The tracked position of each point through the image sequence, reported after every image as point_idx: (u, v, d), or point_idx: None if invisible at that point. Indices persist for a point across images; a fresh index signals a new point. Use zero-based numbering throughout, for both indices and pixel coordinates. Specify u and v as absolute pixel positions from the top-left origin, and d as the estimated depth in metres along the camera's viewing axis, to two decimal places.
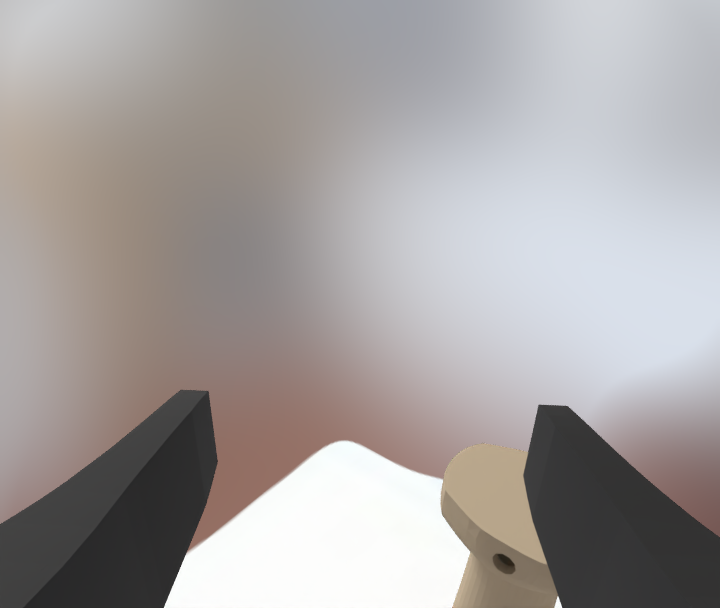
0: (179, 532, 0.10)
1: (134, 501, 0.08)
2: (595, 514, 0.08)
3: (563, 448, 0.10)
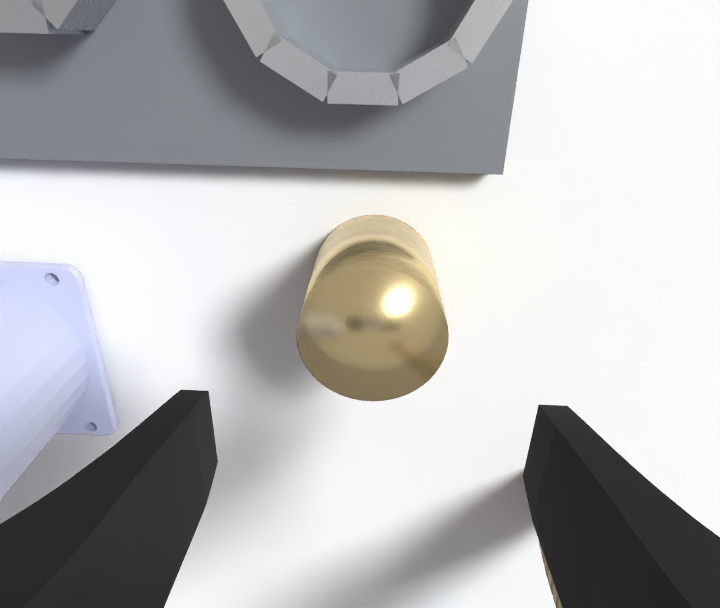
0: (178, 532, 0.10)
1: (134, 501, 0.08)
2: (595, 514, 0.08)
3: (563, 448, 0.10)
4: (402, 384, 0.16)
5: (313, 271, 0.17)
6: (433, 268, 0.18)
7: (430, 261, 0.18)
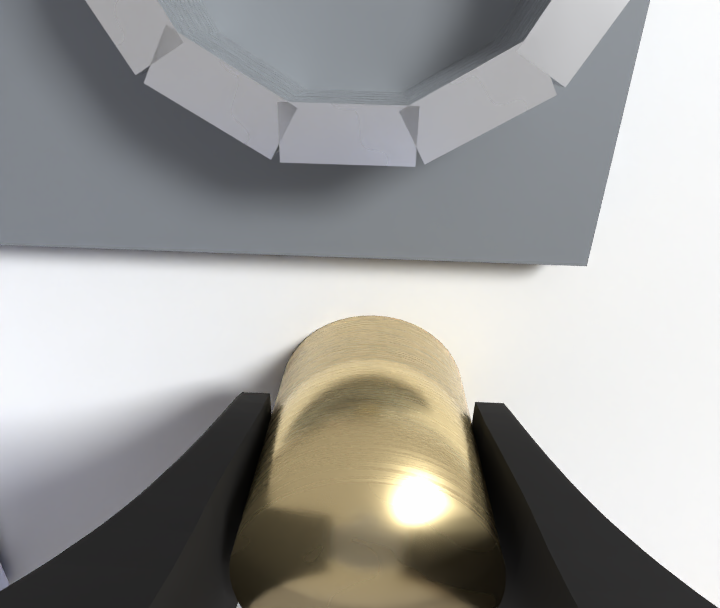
0: None
1: (218, 505, 0.08)
2: (512, 510, 0.09)
3: (490, 445, 0.10)
4: None
5: (270, 423, 0.10)
6: (467, 411, 0.11)
7: (463, 401, 0.11)
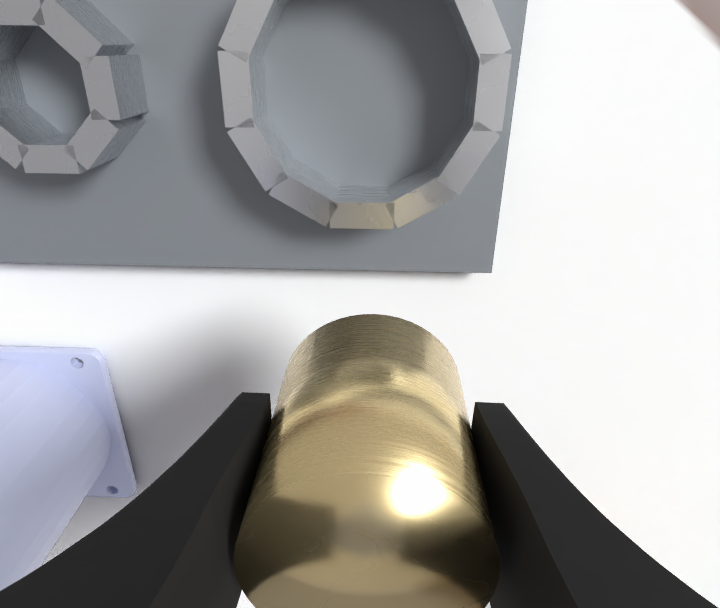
0: None
1: (217, 505, 0.08)
2: (512, 510, 0.08)
3: (490, 445, 0.10)
4: None
5: (273, 418, 0.11)
6: (464, 407, 0.11)
7: (460, 397, 0.11)
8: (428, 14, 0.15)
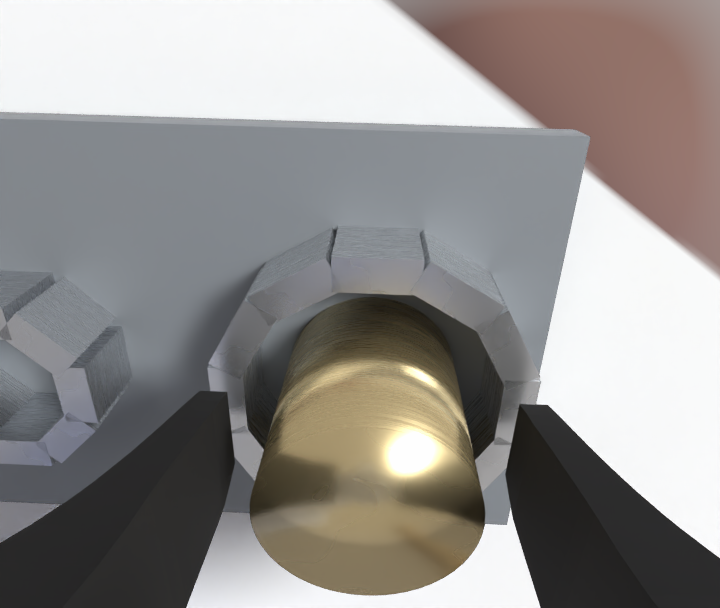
0: (200, 532, 0.10)
1: (159, 502, 0.08)
2: (570, 513, 0.08)
3: (541, 447, 0.10)
4: (414, 575, 0.10)
5: (282, 390, 0.12)
6: (455, 379, 0.12)
7: (451, 370, 0.12)
8: None
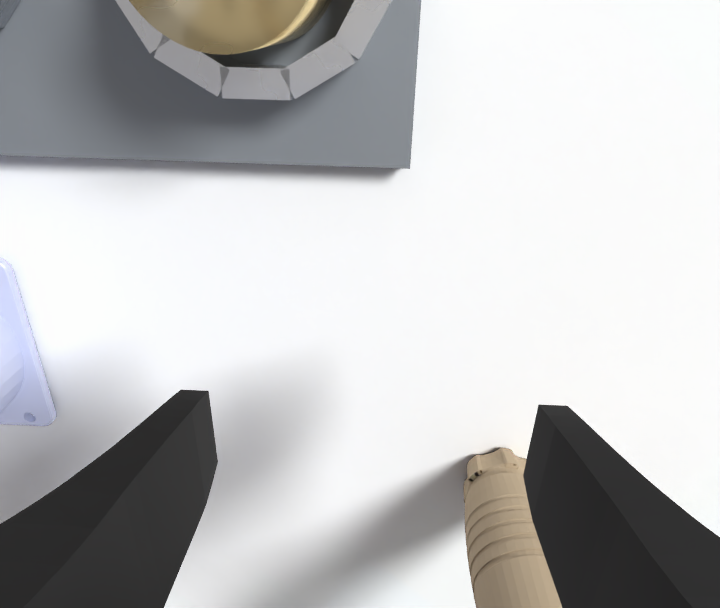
0: (179, 531, 0.10)
1: (134, 501, 0.08)
2: (595, 514, 0.08)
3: (563, 448, 0.10)
4: (267, 15, 0.11)
5: None
6: None
7: None
8: None
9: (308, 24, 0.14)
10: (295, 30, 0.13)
